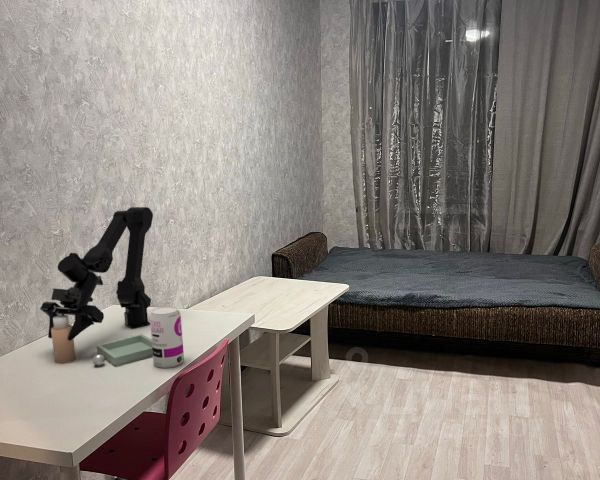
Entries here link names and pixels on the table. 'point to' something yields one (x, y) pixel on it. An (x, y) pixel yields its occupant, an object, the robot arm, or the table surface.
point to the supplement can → (166, 337)
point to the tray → (126, 350)
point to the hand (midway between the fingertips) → (59, 338)
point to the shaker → (62, 340)
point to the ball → (98, 360)
